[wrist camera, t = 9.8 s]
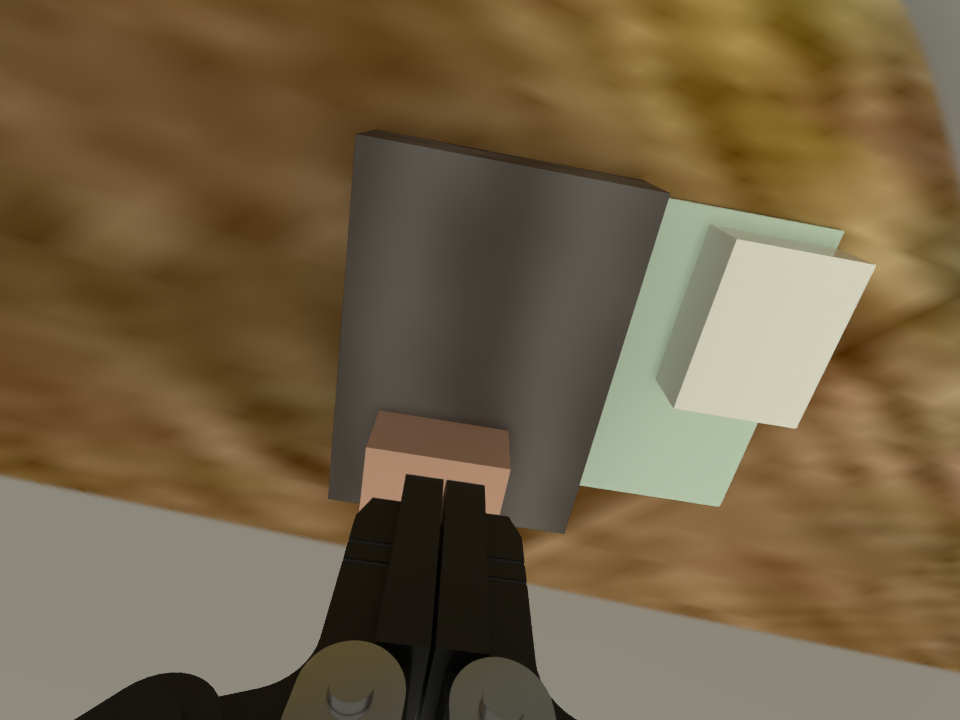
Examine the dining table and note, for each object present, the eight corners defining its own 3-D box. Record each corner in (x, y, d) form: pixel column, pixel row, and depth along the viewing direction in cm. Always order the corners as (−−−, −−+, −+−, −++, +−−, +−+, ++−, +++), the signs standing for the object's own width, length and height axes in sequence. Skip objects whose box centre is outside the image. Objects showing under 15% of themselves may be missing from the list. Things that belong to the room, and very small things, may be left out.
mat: (566, 479, 32) (567, 483, 31) (650, 193, 25) (653, 195, 25) (717, 502, 32) (719, 506, 32) (839, 229, 25) (844, 231, 25)
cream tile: (796, 428, 26) (766, 398, 29) (876, 264, 23) (834, 247, 25) (673, 408, 26) (655, 379, 28) (736, 239, 22) (709, 224, 25)
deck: (346, 452, 31) (327, 498, 27) (376, 129, 24) (355, 133, 20) (555, 484, 32) (564, 533, 28) (643, 180, 25) (670, 193, 21)
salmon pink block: (369, 496, 27) (356, 540, 25) (379, 410, 25) (366, 447, 22) (488, 514, 28) (488, 559, 25) (508, 430, 26) (510, 469, 23)
